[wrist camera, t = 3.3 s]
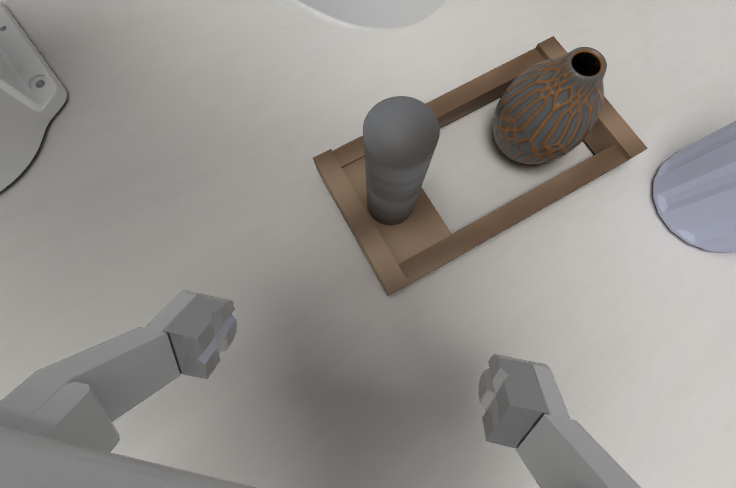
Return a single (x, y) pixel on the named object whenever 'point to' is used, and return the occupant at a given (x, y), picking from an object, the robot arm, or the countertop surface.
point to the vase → (550, 107)
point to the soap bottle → (701, 192)
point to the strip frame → (412, 158)
